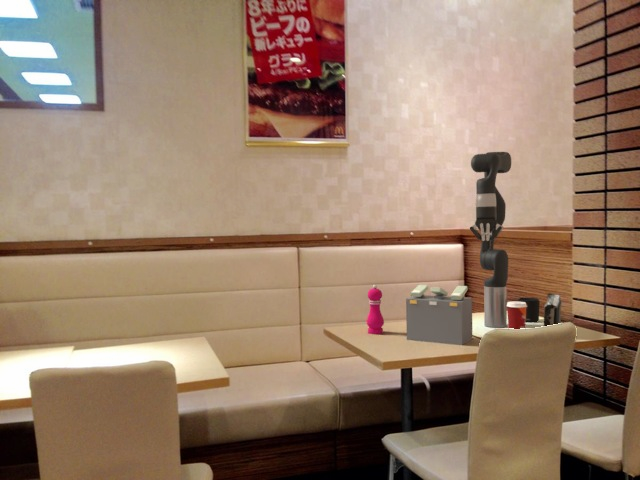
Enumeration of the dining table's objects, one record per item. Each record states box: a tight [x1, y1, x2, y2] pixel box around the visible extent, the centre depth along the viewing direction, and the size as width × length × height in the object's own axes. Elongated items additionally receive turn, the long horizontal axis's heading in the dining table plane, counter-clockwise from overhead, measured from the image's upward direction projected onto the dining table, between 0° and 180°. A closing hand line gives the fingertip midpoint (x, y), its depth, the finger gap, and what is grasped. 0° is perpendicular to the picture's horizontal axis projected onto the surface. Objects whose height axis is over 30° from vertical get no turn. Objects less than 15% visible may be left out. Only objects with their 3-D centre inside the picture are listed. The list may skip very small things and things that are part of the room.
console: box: [405, 293, 473, 346], centre depth 225 cm, size 13×22×17 cm, turn 58°
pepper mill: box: [366, 284, 385, 335], centre depth 240 cm, size 7×7×20 cm
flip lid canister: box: [506, 301, 527, 329], centre depth 223 cm, size 8×8×14 cm
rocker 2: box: [429, 286, 448, 296], centre depth 224 cm, size 9×4×2 cm, turn 148°
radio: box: [543, 293, 562, 327], centre depth 232 cm, size 23×9×15 cm, turn 147°
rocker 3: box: [449, 285, 468, 300], centre depth 220 cm, size 9×4×2 cm, turn 148°
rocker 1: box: [410, 284, 429, 297], centre depth 229 cm, size 9×4×2 cm, turn 148°
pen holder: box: [517, 297, 541, 323], centre depth 260 cm, size 9×9×10 cm
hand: (486, 250), depth 223 cm, fingers closed
